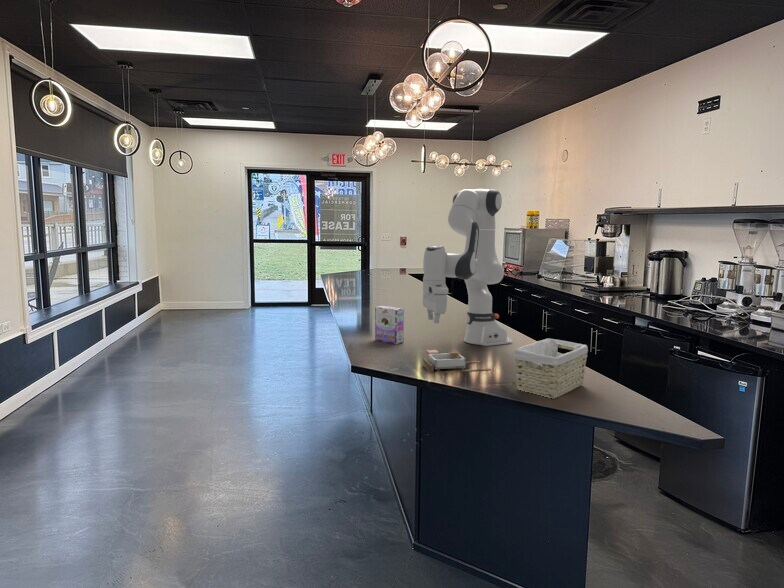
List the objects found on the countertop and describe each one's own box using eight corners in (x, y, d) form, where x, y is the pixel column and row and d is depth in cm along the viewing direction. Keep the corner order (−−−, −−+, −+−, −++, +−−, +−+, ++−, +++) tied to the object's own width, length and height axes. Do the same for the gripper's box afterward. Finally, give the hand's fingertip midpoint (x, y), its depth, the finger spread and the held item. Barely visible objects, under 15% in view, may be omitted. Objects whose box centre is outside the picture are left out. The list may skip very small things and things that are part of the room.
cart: (457, 364, 202) (457, 352, 202) (465, 370, 194) (465, 358, 193) (427, 365, 200) (428, 354, 199) (434, 372, 191) (435, 360, 190)
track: (479, 364, 207) (480, 354, 206) (493, 373, 194) (493, 363, 194) (421, 367, 201) (422, 357, 201) (431, 377, 189) (432, 366, 188)
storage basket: (554, 402, 164) (556, 357, 162) (510, 390, 176) (512, 347, 174) (587, 386, 181) (590, 344, 179) (545, 375, 192) (547, 337, 190)
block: (435, 361, 210) (436, 349, 210) (438, 364, 207) (439, 352, 206) (426, 362, 209) (426, 350, 209) (429, 364, 206) (429, 352, 205)
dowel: (456, 361, 199) (457, 351, 199) (460, 364, 196) (460, 353, 195) (447, 361, 198) (447, 351, 198) (450, 364, 195) (451, 354, 194)
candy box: (404, 342, 242) (404, 308, 240) (395, 345, 238) (396, 309, 236) (383, 338, 251) (383, 304, 249) (374, 340, 247) (374, 306, 245)
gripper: (419, 283, 213) (418, 316, 215) (434, 290, 193) (433, 326, 195) (433, 283, 214) (433, 316, 216) (450, 290, 195) (449, 326, 197)
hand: (433, 321), depth 206 cm, fingers open, 6 cm apart
